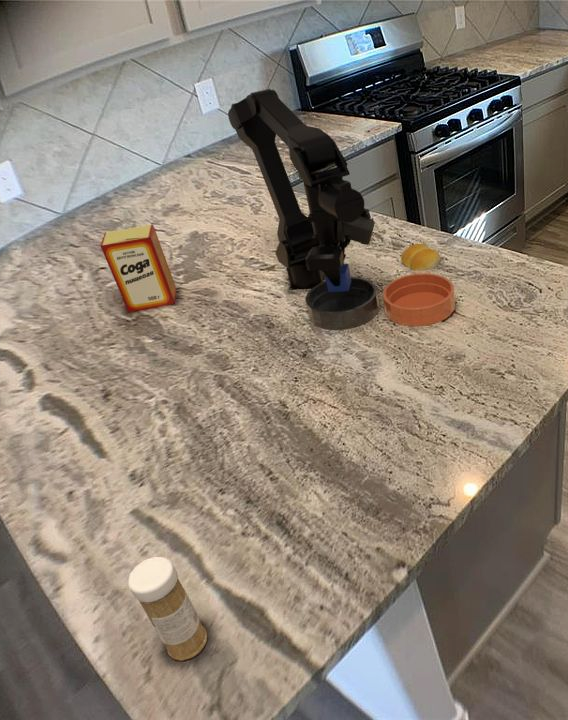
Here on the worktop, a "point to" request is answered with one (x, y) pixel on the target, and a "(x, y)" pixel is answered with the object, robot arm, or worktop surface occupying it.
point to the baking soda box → (139, 267)
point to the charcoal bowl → (343, 305)
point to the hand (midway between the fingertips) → (338, 280)
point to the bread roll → (420, 257)
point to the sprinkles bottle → (168, 607)
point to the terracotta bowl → (419, 299)
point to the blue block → (341, 280)
